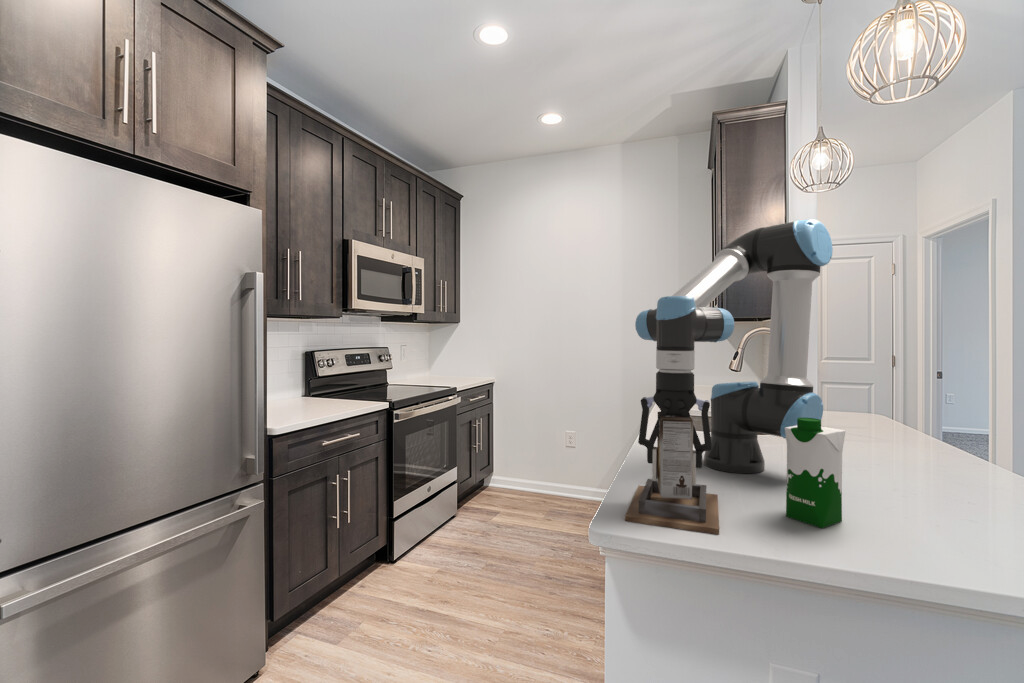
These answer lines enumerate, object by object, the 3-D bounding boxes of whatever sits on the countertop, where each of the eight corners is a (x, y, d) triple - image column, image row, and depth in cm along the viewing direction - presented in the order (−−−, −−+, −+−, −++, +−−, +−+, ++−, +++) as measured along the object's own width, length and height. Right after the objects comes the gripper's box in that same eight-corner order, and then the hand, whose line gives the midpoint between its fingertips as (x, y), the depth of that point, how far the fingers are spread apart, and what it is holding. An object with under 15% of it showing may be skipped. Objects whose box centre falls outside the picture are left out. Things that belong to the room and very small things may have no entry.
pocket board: (717, 499, 107) (717, 483, 107) (719, 534, 88) (719, 515, 88) (638, 489, 113) (638, 474, 113) (625, 520, 95) (625, 503, 95)
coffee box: (656, 483, 106) (656, 410, 106) (686, 485, 105) (687, 411, 104) (660, 497, 97) (660, 418, 97) (693, 500, 96) (694, 419, 95)
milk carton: (778, 515, 97) (779, 416, 97) (804, 507, 102) (805, 413, 101) (824, 531, 90) (826, 424, 89) (850, 522, 94) (851, 419, 94)
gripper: (623, 370, 101) (622, 480, 101) (728, 374, 93) (726, 492, 94) (628, 368, 108) (628, 470, 108) (726, 371, 100) (725, 481, 101)
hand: (674, 480), depth 101 cm, fingers closed on coffee box, 7 cm apart
